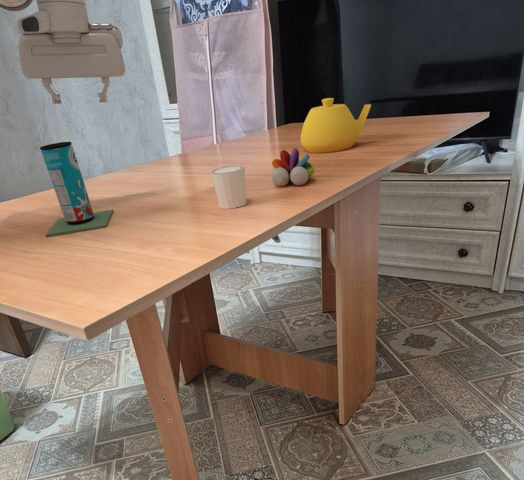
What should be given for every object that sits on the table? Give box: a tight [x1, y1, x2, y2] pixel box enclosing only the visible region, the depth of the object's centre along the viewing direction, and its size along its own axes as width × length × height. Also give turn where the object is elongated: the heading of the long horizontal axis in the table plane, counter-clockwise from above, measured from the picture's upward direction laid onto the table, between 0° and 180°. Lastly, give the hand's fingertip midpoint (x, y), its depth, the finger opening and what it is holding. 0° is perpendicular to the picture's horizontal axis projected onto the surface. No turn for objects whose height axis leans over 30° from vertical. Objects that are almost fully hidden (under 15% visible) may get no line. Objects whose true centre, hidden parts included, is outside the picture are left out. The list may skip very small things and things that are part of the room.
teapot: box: [300, 97, 372, 154], centre depth 133 cm, size 20×19×13 cm
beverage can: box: [39, 141, 94, 225], centre depth 94 cm, size 6×6×15 cm
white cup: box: [210, 165, 247, 210], centre depth 94 cm, size 7×7×7 cm
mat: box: [45, 208, 114, 238], centre depth 98 cm, size 12×12×1 cm
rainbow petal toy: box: [271, 147, 316, 187], centre depth 104 cm, size 8×10×7 cm
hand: (80, 103), depth 98 cm, fingers open, 8 cm apart
